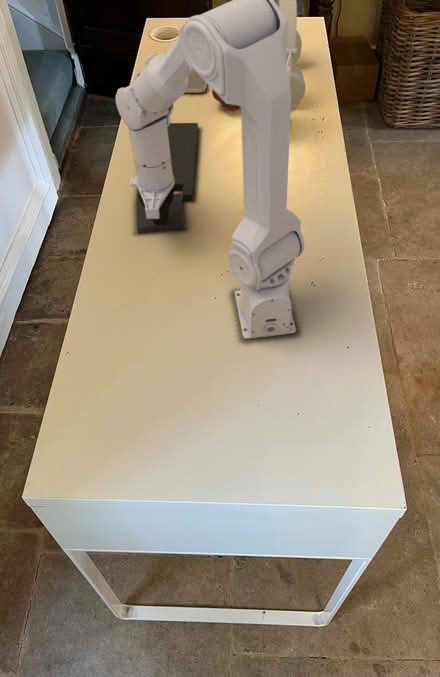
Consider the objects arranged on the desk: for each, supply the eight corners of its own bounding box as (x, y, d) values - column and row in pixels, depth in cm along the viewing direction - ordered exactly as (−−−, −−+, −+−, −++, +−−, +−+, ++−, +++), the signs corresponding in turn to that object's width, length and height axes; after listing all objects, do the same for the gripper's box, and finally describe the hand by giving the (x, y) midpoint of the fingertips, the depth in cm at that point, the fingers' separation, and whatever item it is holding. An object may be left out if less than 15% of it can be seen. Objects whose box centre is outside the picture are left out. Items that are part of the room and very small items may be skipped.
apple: (250, 117, 124) (250, 81, 118) (212, 118, 124) (210, 81, 118) (249, 97, 129) (249, 61, 122) (213, 98, 129) (211, 61, 122)
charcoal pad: (184, 230, 105) (183, 223, 104) (138, 234, 105) (137, 227, 103) (180, 189, 111) (180, 183, 110) (137, 193, 111) (136, 186, 110)
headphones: (262, 60, 137) (265, -32, 122) (299, 60, 137) (307, -33, 121) (263, 111, 125) (266, 15, 110) (304, 110, 125) (312, 15, 110)
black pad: (192, 201, 109) (192, 194, 108) (137, 201, 110) (136, 195, 108) (198, 129, 122) (197, 122, 121) (149, 129, 123) (148, 123, 121)
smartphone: (209, 53, 138) (205, 89, 129) (209, 57, 139) (205, 93, 130) (176, 54, 138) (171, 89, 129) (177, 57, 139) (171, 93, 130)
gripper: (131, 129, 98) (142, 195, 109) (121, 186, 89) (134, 252, 100) (174, 128, 98) (181, 194, 109) (168, 186, 89) (176, 252, 100)
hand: (161, 222), depth 104 cm, fingers closed, pressing on charcoal pad
